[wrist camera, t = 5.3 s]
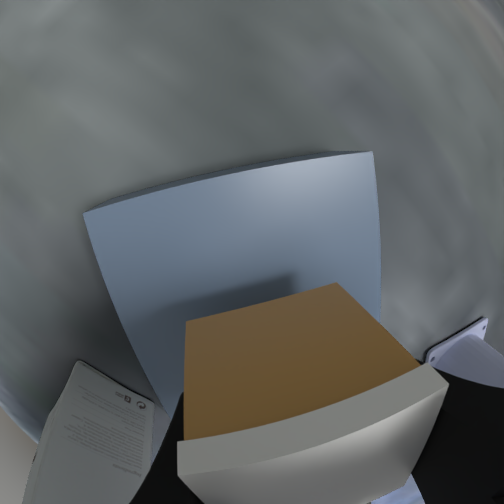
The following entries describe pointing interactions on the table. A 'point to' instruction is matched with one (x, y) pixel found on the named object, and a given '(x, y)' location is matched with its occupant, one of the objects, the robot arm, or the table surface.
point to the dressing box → (235, 248)
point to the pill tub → (302, 404)
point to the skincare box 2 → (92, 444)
